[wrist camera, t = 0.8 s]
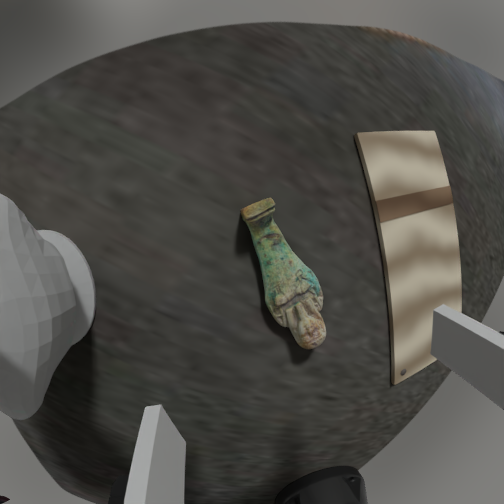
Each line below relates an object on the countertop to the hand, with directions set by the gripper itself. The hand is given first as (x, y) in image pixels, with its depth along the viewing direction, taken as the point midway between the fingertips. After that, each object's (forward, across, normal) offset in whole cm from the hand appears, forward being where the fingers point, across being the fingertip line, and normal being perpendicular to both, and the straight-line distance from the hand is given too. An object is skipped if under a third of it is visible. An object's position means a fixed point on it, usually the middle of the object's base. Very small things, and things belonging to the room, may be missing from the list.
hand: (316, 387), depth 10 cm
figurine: (+17, -2, 0) cm, 17 cm away
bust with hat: (+17, +20, -4) cm, 27 cm away
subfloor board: (+17, -22, +4) cm, 28 cm away
